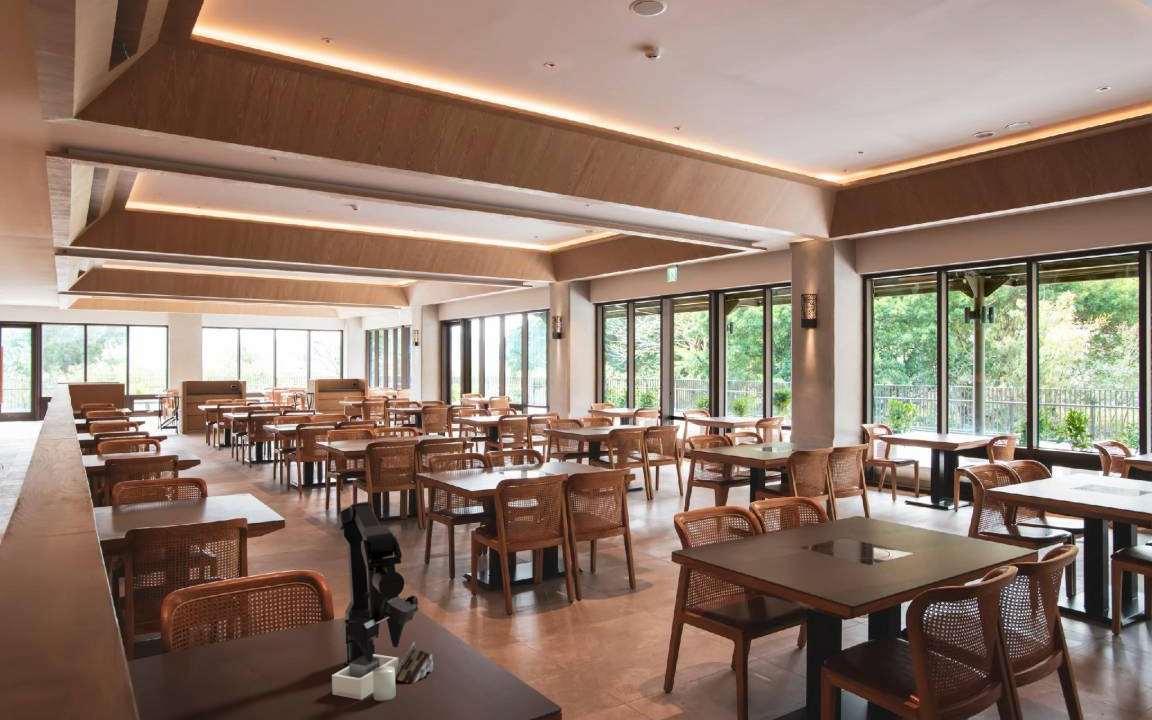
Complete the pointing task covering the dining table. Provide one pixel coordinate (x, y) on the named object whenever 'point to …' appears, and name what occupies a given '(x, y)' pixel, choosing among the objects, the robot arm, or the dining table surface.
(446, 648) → the dining table surface
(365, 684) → the tote
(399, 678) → the chocolate cake
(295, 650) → the dining table surface
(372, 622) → the robot arm
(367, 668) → the iron block
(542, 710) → the dining table surface
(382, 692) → the white pillar candle
